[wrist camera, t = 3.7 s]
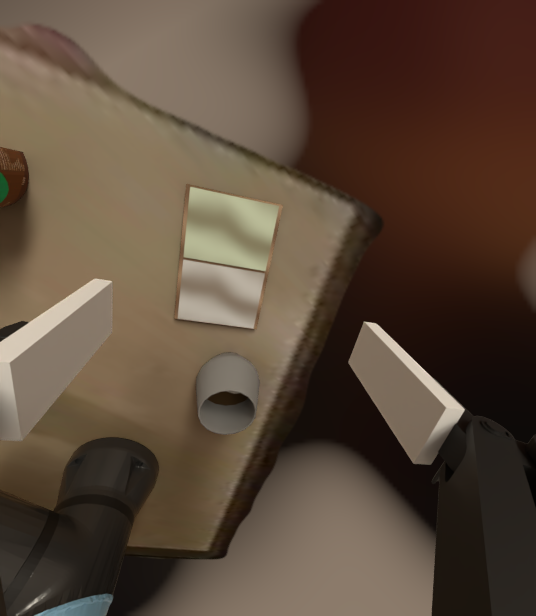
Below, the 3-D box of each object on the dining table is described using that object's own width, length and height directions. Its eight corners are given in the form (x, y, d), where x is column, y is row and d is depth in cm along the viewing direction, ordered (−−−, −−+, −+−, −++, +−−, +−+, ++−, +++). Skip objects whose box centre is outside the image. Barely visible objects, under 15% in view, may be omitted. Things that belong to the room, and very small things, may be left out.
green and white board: (255, 326, 43) (256, 330, 42) (175, 316, 41) (173, 319, 40) (281, 204, 36) (283, 205, 35) (187, 184, 34) (186, 184, 33)
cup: (244, 334, 43) (247, 373, 34) (265, 378, 47) (273, 424, 38) (188, 356, 44) (176, 401, 34) (214, 398, 47) (209, 448, 38)
